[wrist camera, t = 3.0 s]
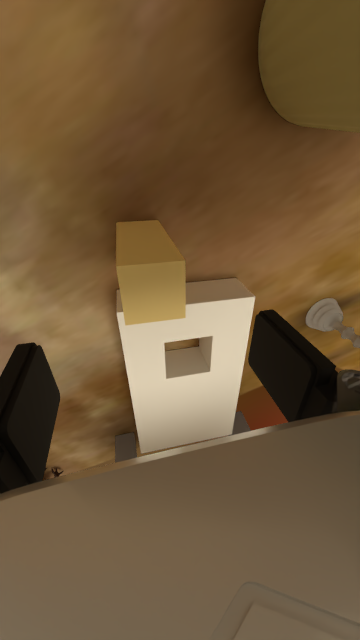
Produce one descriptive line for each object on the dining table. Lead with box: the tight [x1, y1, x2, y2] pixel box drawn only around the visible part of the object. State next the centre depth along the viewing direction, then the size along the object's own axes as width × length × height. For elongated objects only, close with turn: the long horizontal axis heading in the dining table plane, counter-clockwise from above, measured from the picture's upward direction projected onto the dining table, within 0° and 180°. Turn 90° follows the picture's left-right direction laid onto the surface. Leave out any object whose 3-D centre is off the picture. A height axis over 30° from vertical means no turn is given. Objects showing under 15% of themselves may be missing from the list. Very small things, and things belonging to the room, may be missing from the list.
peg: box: [116, 220, 186, 326], centre depth 20 cm, size 4×4×12 cm
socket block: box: [117, 278, 255, 453], centre depth 33 cm, size 24×14×5 cm, turn 1°
